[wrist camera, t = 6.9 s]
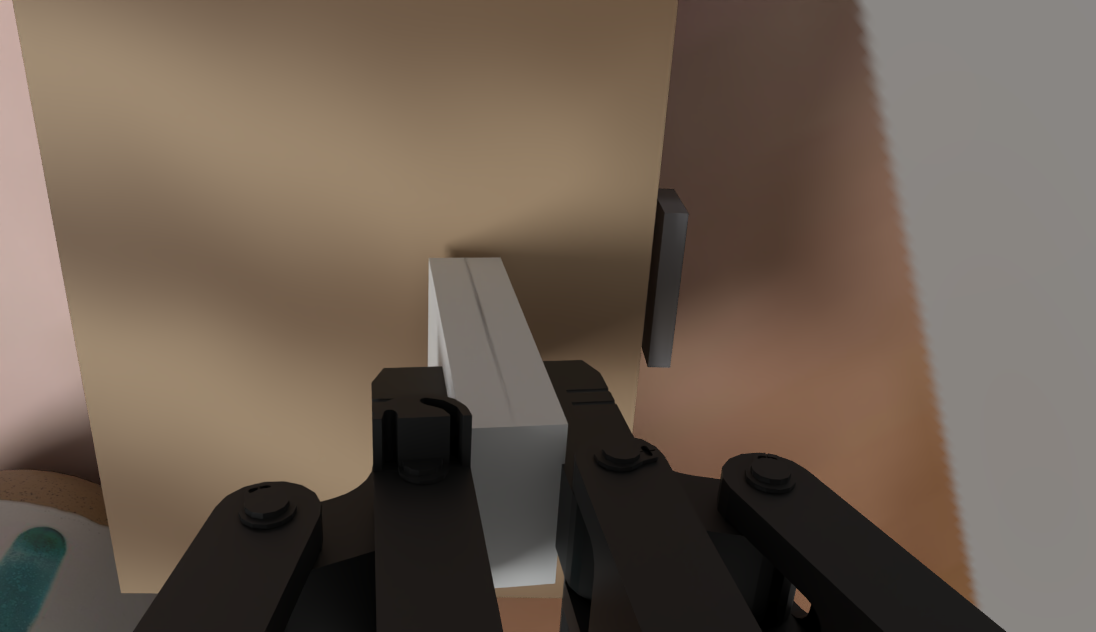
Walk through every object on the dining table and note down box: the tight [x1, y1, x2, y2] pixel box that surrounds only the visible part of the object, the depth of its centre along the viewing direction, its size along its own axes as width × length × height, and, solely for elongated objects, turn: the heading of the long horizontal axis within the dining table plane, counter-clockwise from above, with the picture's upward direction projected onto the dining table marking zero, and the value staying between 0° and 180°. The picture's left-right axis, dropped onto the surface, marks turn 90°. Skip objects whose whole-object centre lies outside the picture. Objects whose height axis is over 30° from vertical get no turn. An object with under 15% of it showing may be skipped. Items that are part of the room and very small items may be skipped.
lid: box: [12, 0, 689, 598], centre depth 19 cm, size 16×13×2 cm
